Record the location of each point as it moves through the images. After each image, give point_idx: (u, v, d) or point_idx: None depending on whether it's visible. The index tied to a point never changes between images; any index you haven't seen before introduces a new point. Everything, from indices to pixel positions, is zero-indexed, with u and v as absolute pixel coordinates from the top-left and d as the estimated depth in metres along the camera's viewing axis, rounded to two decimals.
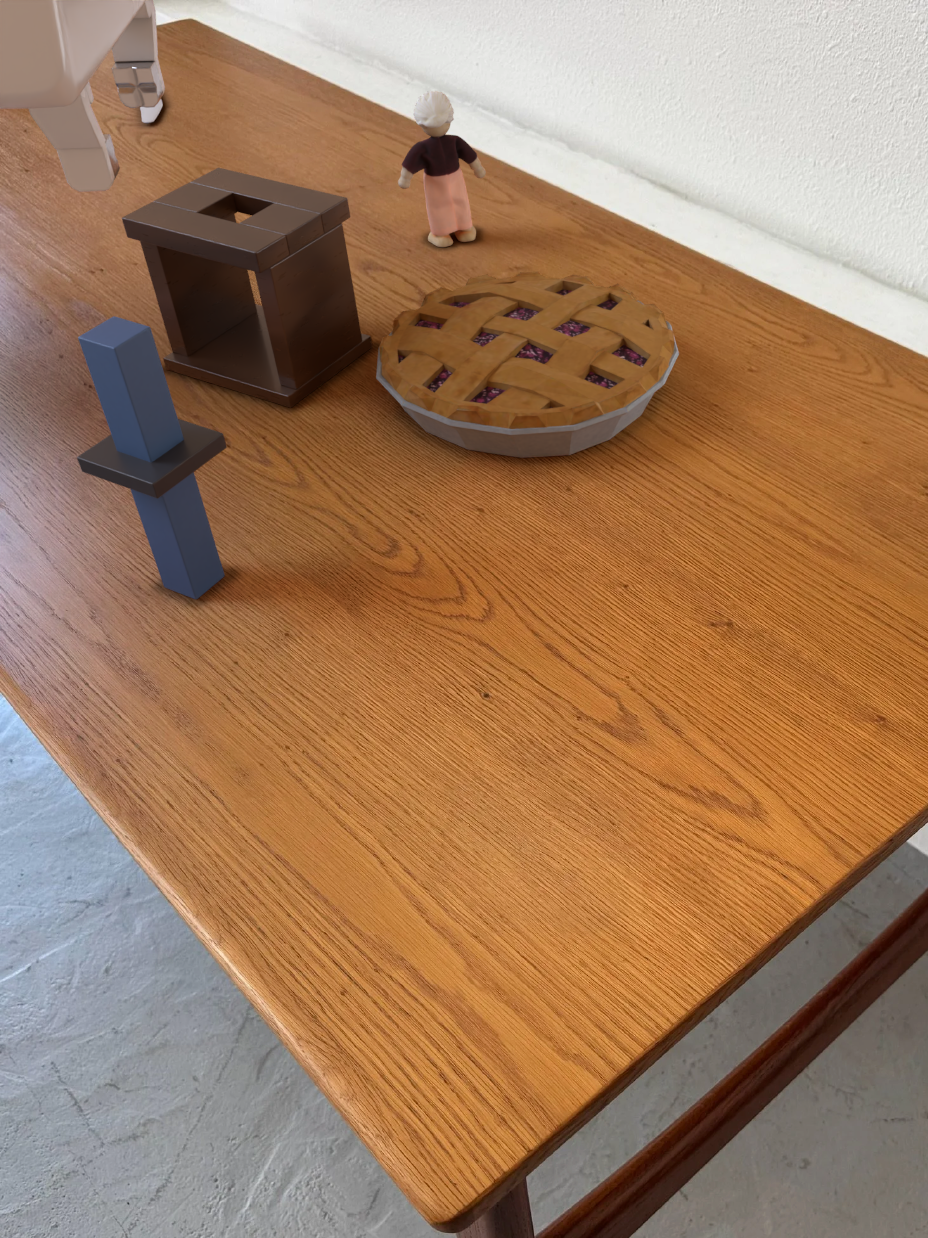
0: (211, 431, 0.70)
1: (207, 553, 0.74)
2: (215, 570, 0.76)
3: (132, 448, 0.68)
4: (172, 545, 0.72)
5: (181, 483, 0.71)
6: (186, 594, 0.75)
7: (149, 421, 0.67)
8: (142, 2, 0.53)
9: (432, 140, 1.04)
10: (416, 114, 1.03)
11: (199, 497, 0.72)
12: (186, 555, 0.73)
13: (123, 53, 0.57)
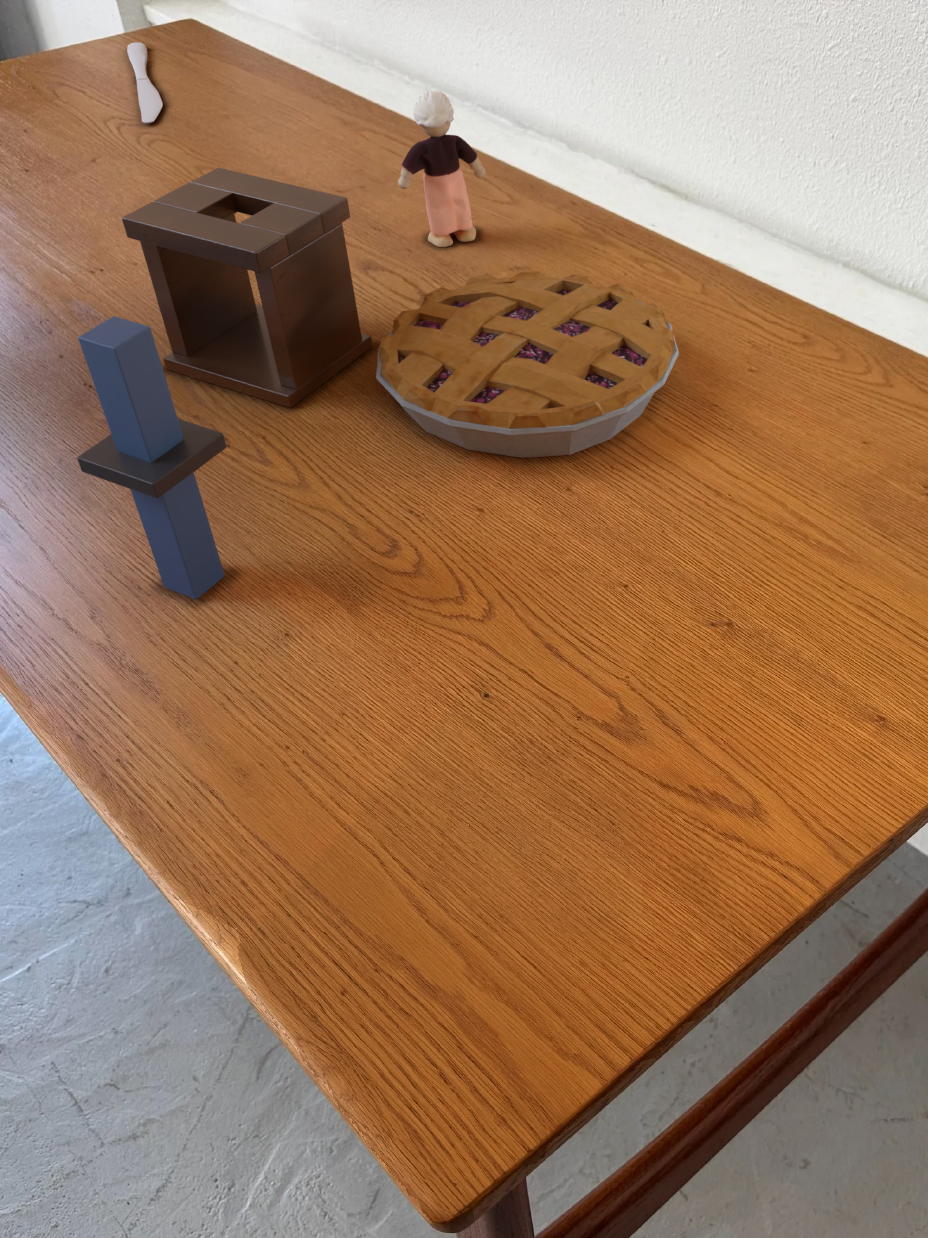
0: (211, 431, 0.70)
1: (207, 553, 0.74)
2: (215, 570, 0.76)
3: (132, 448, 0.68)
4: (172, 545, 0.72)
5: (181, 483, 0.71)
6: (186, 594, 0.75)
7: (149, 421, 0.67)
8: None
9: (432, 140, 1.04)
10: (416, 114, 1.03)
11: (199, 497, 0.72)
12: (186, 555, 0.73)
13: None
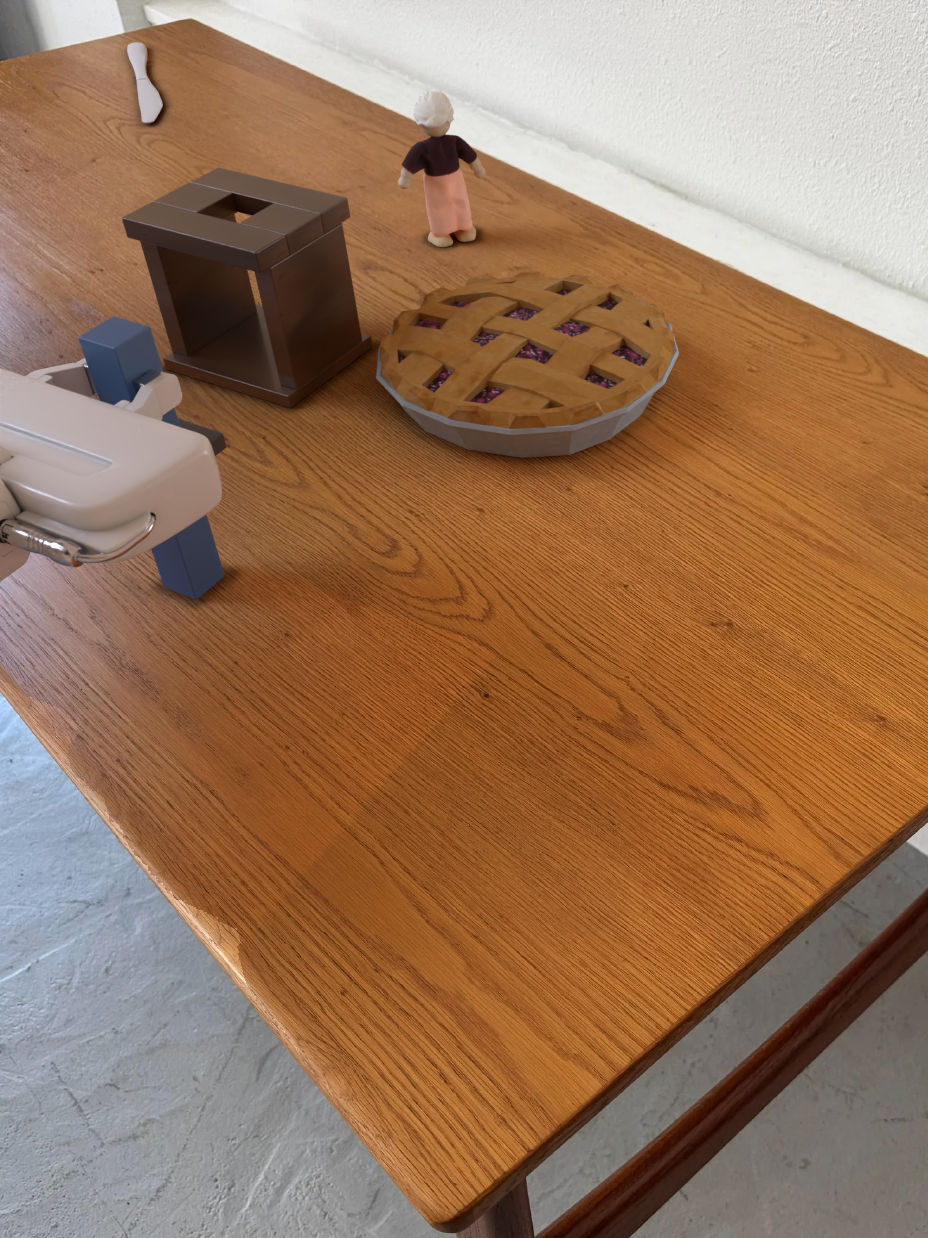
0: (211, 431, 0.70)
1: (207, 553, 0.74)
2: (215, 570, 0.76)
3: None
4: (172, 545, 0.72)
5: None
6: (186, 594, 0.75)
7: None
8: None
9: (432, 140, 1.04)
10: (416, 114, 1.03)
11: None
12: (186, 555, 0.73)
13: None
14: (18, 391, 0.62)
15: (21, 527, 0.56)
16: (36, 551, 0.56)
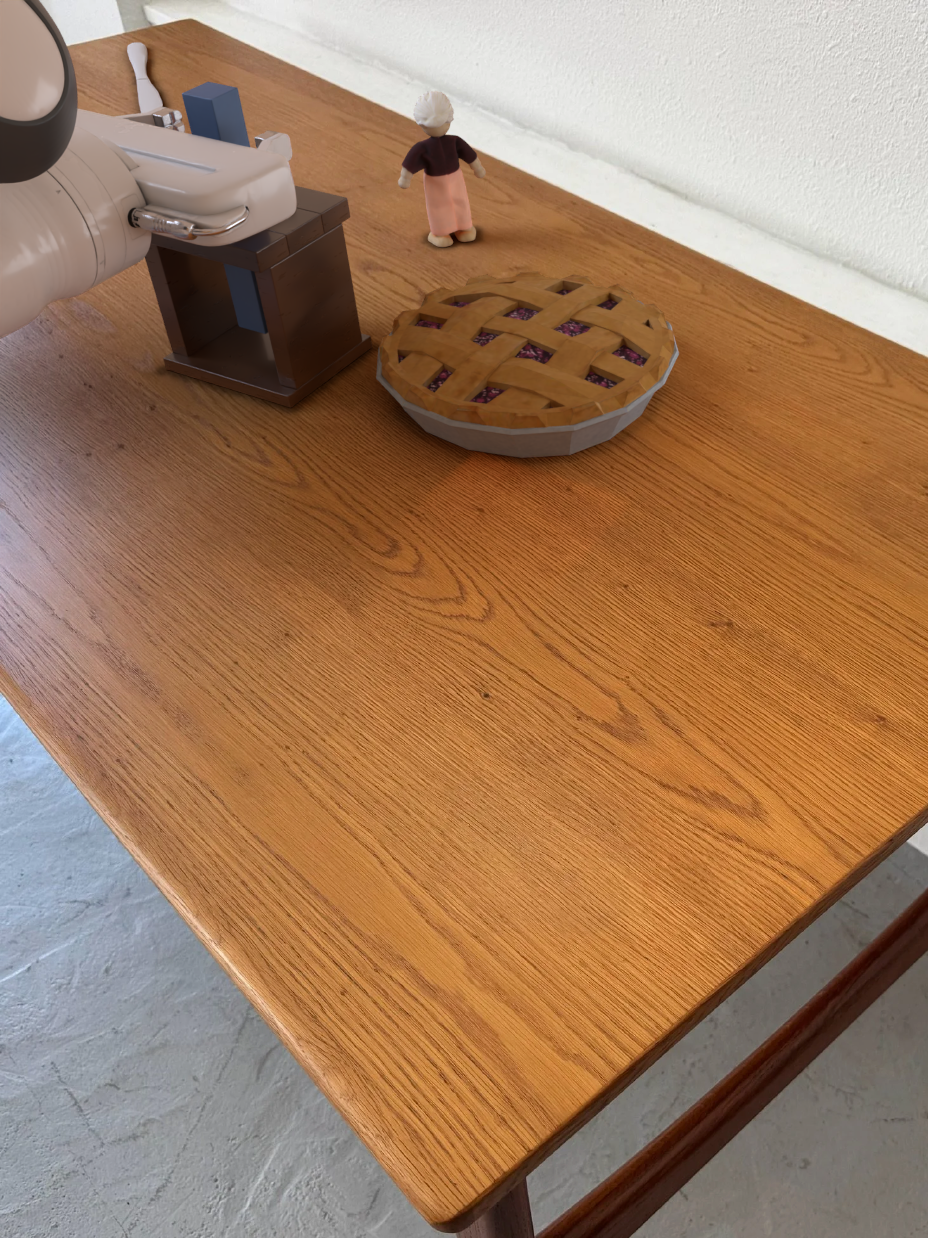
0: None
1: None
2: None
3: None
4: (247, 282, 0.90)
5: None
6: (257, 330, 0.93)
7: None
8: None
9: (432, 140, 1.04)
10: (416, 114, 1.03)
11: None
12: None
13: None
14: (137, 130, 0.80)
15: (148, 212, 0.74)
16: (160, 229, 0.74)
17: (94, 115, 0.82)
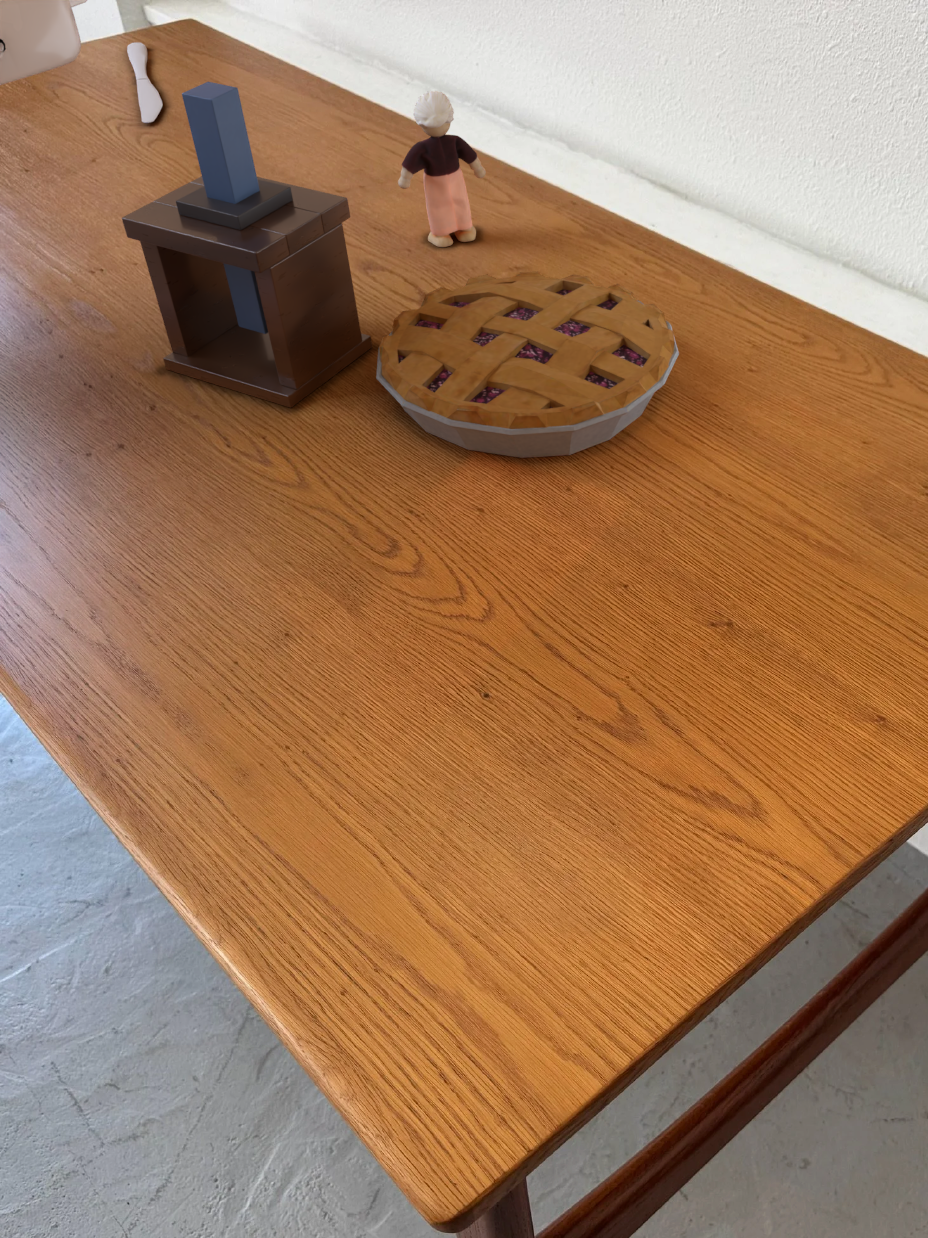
0: (281, 185, 0.88)
1: None
2: None
3: (220, 192, 0.86)
4: (247, 282, 0.90)
5: None
6: (257, 330, 0.93)
7: (235, 168, 0.85)
8: None
9: (432, 140, 1.04)
10: (416, 114, 1.03)
11: None
12: None
13: None
14: None
15: None
16: None
17: None
